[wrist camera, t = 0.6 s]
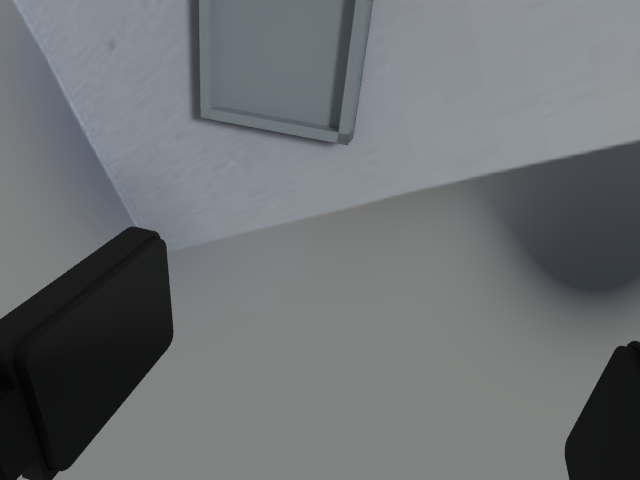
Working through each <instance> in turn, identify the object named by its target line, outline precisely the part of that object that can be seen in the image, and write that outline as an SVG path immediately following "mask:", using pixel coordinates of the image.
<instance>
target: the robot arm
mask: <svg viewBox="0 0 640 480" xmlns="http://www.w3.org/2000/svg"><path fill="white" fill-rule="evenodd" d="M172 338H173V321H172V308H171V296H170V285H169V273H168V261H167V249H166V243H165V241H164V240H162V239H160V236H159V234H158V233H157V232H156V231H151V230H147V229H143V228H138V227H129V228H127V229H126V230H124V231H123V232H121V233H120V234H119V235H118V236H116V237H114V238H113V239H112V240H110V241H109V242H107V243H106V244H105V245H103V246H102V247H101V248H99V249H98V250H97V251H95V252H94V253H92V254H91V255H89V256H88V257H87V258H85V259H84V260H82V261H81V262H80V263H78V264H77V265H75V266H74V267H73V268H71V269H70V270H68V271H67V272H66V273H64V274H63V275H62V276H60V277H59V278H57V279H56V280H54V281H53V282H52V283H50V284H49V285H47V286H46V287H45V288H43V289H42V290H41V291H39V292H38V293H37V294H35V295H34V296H32V297H31V298H29V299H28V300H27V301H25V302H24V303H23V304H21V305H20V306H18V307H17V308H15V309H14V310H13V311H11V312H10V313H8V314H7V315H6V316H4V317H3V318H1V319H0V480H17V478H18V477H19V476H20V475H21V474H22V477H23V478H26V479H29V480H52V479H53V478H54V477H55V476H56V474H57V473H58V472H59V471H64V470H66V469H68V468H69V467H70V466H71V465H72V464H73V463H74V462H75V461H76V459H77V458H78V457H79V456H80V454H81V453H82V452H83V451H84V450H85V448H86V447H87V446H88V445H89V443H90V442H91V441H92V440H93V439H94V437H95V436H96V435H97V434H98V433H99V431H100V430H101V429H102V427H103V426H104V425H105V424H106V423H107V422H108V420H109V419H110V418H111V417H112V416H113V414H114V413H115V412H116V411H117V410H118V408H119V407H120V406H121V405H122V403H123V402H124V401H125V400H126V399H127V397H128V396H129V395H130V394H131V393H132V391H133V390H134V389H135V388H136V386H137V385H138V384H139V383H140V382H141V380H142V379H143V378H144V377H145V375H146V374H147V373H148V372H149V371H150V369H151V368H152V367H153V365H155V363H156V362H157V361H158V360H159V358H160V357H161V356H162V355H163V354H164V352H165V351H166V350H167V349H168V347H169V346H170V344H171V342H172ZM565 460H566V465H567V470H568V475H569V480H640V342H638V341H632V342H630V343H629V344H628V345H627V346H626V347H625V346H619V347H617V348H616V349H615V351H614V353H613V354H612V356H611V358H610V360H609V362H608V364H607V366H606V368H605V369H604V371H603V373H602V375H601V377H600V379H599V381H598V382H597V384H596V386H595V388H594V390H593V392H592V394H591V395H590V397H589V399H588V401H587V403H586V405H585V407H584V408H583V410H582V412H581V414H580V416H579V418H578V420H577V422H576V423H575V425H574V427H573V429H572V431H571V433H570V435H569V436H568V439H567V441H566V445H565Z"/></svg>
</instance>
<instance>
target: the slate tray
mask: <svg viewBox="0 0 640 480" xmlns="http://www.w3.org/2000/svg"><path fill="white" fill-rule="evenodd" d="M372 4H373V0H199V42H200V109H201V118H206V119H212V120H217V121H222V122H228V123H233V124H238V125H244V126H249V127H254V128H259V129H265V130H270V131H275V132H281V133H286V134H291V135H296V136H302V137H307V138H312V139H318V140H323V141H328V142H334V143H339V144H344V145H348V144H349V143H350V141H351V140H352V139H353V134H354V127H355V120H356V113H357V107H358V100H359V93H360V86H361V79H362V72H363V65H364V59H365V52H366V45H367V38H368V31H369V24H370V18H371V11H372Z"/></svg>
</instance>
